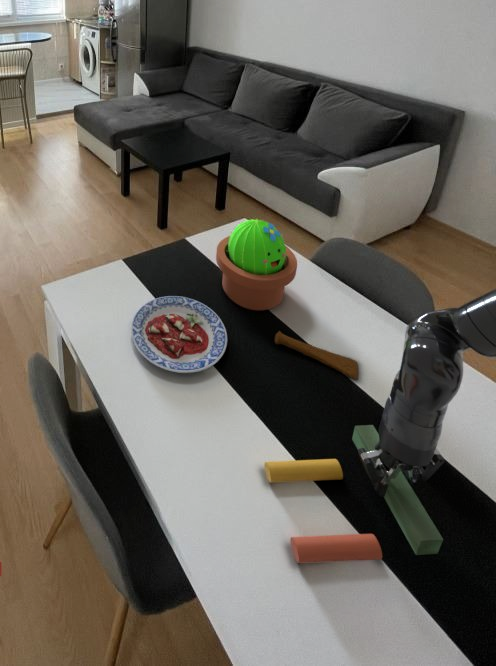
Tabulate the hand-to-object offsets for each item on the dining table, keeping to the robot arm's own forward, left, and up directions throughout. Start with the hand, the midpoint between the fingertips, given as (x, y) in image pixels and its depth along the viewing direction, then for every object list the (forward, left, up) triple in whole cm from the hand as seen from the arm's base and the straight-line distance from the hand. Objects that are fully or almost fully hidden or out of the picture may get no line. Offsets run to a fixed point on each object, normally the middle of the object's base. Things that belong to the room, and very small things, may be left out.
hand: (390, 489), depth 77 cm
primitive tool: (-4, -33, -6) cm, 34 cm away
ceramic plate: (+30, -41, -6) cm, 51 cm away
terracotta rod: (+12, +6, -6) cm, 15 cm away
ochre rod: (+12, -6, -6) cm, 15 cm away
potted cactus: (+4, -57, -6) cm, 58 cm away
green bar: (0, 0, 0) cm, 0 cm away
